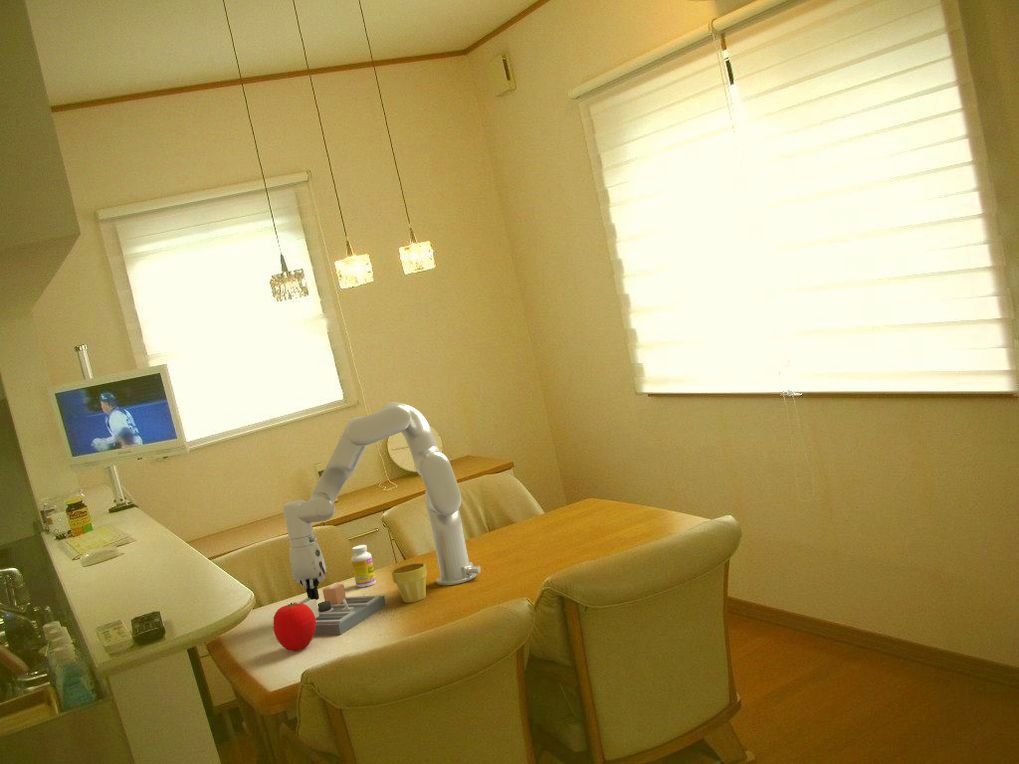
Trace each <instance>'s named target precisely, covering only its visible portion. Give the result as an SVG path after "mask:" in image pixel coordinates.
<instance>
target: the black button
mask: <svg viewBox="0 0 1019 764" xmlns="http://www.w3.org/2000/svg"><path fill="white" fill-rule="evenodd" d="M317 607H318V608H319V612H324V611H328V610H330V609H331V604H330V601H325V600H324V601H321V602H318V603H317Z"/></svg>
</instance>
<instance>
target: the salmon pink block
mask: <svg viewBox="0 0 1019 764" xmlns="http://www.w3.org/2000/svg"><path fill="white" fill-rule="evenodd" d="M322 594H323V598H324V601H330V604H331V605H333V604H341V603H342V602H343V601H342V600H343V599H345V600H346V597H347V595H346V591H345V585H344V583H338V582H334V583H332V584H330V585H328V586H326V587H325V588H322Z"/></svg>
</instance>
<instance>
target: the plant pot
mask: <svg viewBox="0 0 1019 764" xmlns="http://www.w3.org/2000/svg"><path fill="white" fill-rule="evenodd" d="M391 575H392V580H393V583H394V584H396V587H397V588H398V591H399V593H400V595H401V598H402V600H403V602H404V603H416V602H419V601H423V600H424V599H425V598H426V597H427V595H426V594H427V593H426V591H427V590H426V589H427V588H426V587H427V586H426V585H427V583H426V578H427V575H428V570H427V565H426V563H424V562H414V563H408V564H405V565H401V566H399V567H396V568H394V569H393V570H391Z"/></svg>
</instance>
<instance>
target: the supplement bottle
mask: <svg viewBox="0 0 1019 764" xmlns="http://www.w3.org/2000/svg"><path fill="white" fill-rule="evenodd" d="M367 550H368V547H367V545H366V544H359V545H357V546H353V547H352V553H353V555H352V556H351V558H350V559H351V564H352V565H351V566H352V571H353V576H354V581H355V585H356V587H358V588H366V587H365V586H368V587H370V585H371V586H373V585H376V583H377V577H376V573H375V568H374V562H373V557H372V554H371V553H370V552H368V551H367Z"/></svg>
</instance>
